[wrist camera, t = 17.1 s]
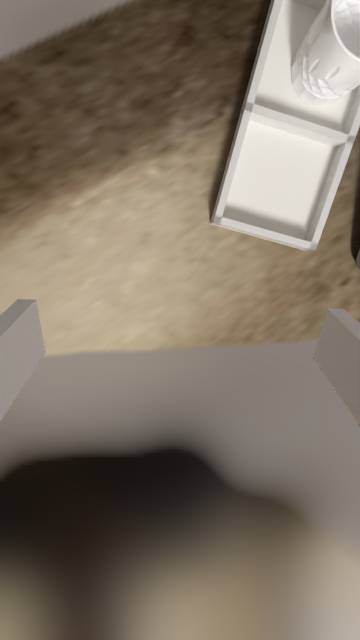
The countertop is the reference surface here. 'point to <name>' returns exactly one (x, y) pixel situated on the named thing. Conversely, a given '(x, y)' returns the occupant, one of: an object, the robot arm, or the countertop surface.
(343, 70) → the white cup
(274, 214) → the white divided tray
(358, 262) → the portable electronic device stand
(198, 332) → the countertop surface
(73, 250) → the countertop surface
